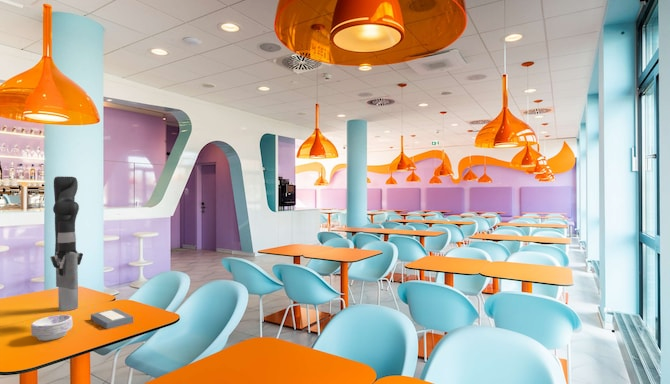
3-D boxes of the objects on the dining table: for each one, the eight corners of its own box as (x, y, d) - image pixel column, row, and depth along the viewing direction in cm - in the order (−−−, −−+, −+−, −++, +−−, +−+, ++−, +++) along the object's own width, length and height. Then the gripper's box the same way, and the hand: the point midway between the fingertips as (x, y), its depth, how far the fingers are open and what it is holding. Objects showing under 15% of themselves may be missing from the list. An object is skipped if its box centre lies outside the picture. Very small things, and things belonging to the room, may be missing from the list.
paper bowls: (24, 345, 166) (24, 327, 166) (40, 333, 181) (40, 316, 181) (64, 341, 171) (64, 323, 171) (77, 329, 185) (77, 313, 185)
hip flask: (54, 286, 197) (54, 247, 197) (63, 284, 201) (62, 246, 200) (72, 289, 190) (71, 249, 189) (81, 288, 193) (80, 248, 193)
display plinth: (90, 320, 199) (90, 313, 199) (115, 314, 208) (115, 308, 208) (107, 329, 185) (107, 322, 185) (133, 322, 194) (133, 316, 194)
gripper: (80, 239, 203) (81, 271, 203) (47, 242, 192) (48, 276, 192) (85, 240, 198) (85, 273, 198) (51, 243, 187) (52, 278, 187)
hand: (67, 274), depth 195 cm, fingers closed on hip flask, 4 cm apart
